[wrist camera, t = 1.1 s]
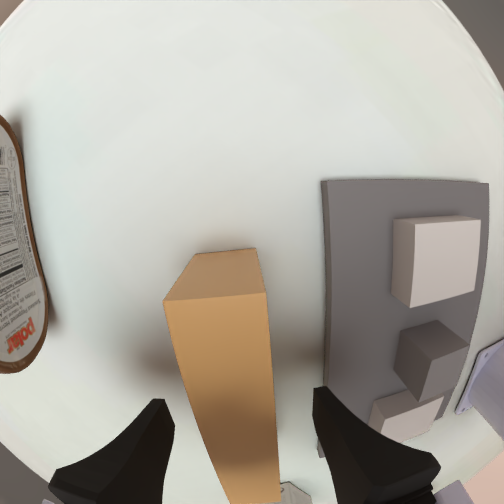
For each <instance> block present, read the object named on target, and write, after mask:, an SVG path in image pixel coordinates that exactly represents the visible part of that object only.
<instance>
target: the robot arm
mask: <svg viewBox="0 0 504 504" xmlns="http://www.w3.org/2000/svg"><path fill="white" fill-rule="evenodd" d="M473 406H474V407H475V408H476V410H477V411H478V412H479V413H480V414H481V415H482V416H483V417H484V418H485V420H486V421H487V422H488V423H489V424H490V425H491V426H492V428H493V429H494V430H495V431H496V432H497V433H498V435H499V436H500V437H501V438H502V439H503V441H504V339H503V340H501V341H499V342H498V343H496V344H494V345H492V346H490V347H489V348H487V349H485V350H483V351H481V352H480V353H479V355H478V357H477V360H476V363H475V366H474V368H473V371H472V374H471V376H470V379H469V381H468V384H467V386H466V389H465V391H464V393H463V396H462V398H461V400H460V402H459V405H458V407H457V409H456V411H455V414H456V415H459V414H461V413H462V412H464V411H466V410H468V409H469V408H471V407H473ZM312 416H313V421H314V425H315V430H316V433H317V436H318V439H319V441H320V444H321V447H322V449H323V452H324V455H325V457H326V460H327V463H328V465H329V468H330V471H331V475H332V480H333V484H334V488H335V493H336V498H337V502H338V504H474V503H473V502H472V500H471V498H470V497H469V495H468V493H467V492H466V490H465V489H464V487H463V485H462V484H461V482H460V480H457V481H455V482H453V483H452V484H450V485H448V486H446V487H445V488H443V489H441V490H440V491H438V492H437V493H435V494H434V495H433V493H432V492H431V491H432V490H433V487H432V485H431V482H432V481H433V480H434V478H435V477H436V476H437V475H438V473H439V471H440V469H441V466H440V464H439V463H438V461H437V460H436V458H435V457H434V456H433V455H432V454H431V453H429V452H425V451H421V450H418V449H414V448H411V447H408V446H406V445H403V444H401V443H398V442H396V441H394V440H392V439H390V438H388V437H386V436H384V435H382V434H381V433H379V432H377V431H376V430H374V429H373V428H371V427H370V426H368V425H367V424H366V423H364V422H363V421H362V420H361V419H359V418H358V417H357V416H356V415H355V414H353V413H352V412H351V411H350V410H349V409H348V408H347V407H346V406H345V405H344V404H343V403H342V402H341V401H340V400H339V399H338V398H337V397H336V396H335V395H334V394H333V392H332V391H331V390H330V389H329V388H328V387H327V386H323V387H318V388H314V392H313V412H312ZM174 431H175V424H174V422H173V419H172V417H171V414H170V412H169V409H168V407H167V404H166V402H165V399H152V400H151V401H150V403H149V404H148V405H147V406H146V407H145V408H144V409H143V411H142V412H141V413H140V414H139V415H138V416H137V417H136V418H135V419H134V420H133V422H132V423H131V424H130V425H129V426H128V427H127V428H126V429H125V430H124V431H123V432H122V433H121V434H119V435H118V436H117V437H116V438H115V439H114V440H113V441H111V442H110V443H109V444H107V445H106V446H105V447H103V448H102V449H100V450H99V451H97V452H95V453H94V454H92V455H90V456H89V457H87V458H85V459H83V460H81V461H78V462H76V463H74V464H71V465H68V466H65V467H62V468H59V469H56V471H55V473H54V475H53V477H52V479H51V481H50V483H49V485H48V488H49V490H50V491H51V492H52V493H53V494H54V495H55V496H56V497H57V498H59V499H60V500H61V501H62V502H63V503H64V504H162V495H163V485H164V478H165V473H166V469H167V465H168V461H169V457H170V453H171V449H172V445H173V440H174ZM42 504H54V503H52V502H50V501H48V500H46V499H44V500H43V502H42Z"/></svg>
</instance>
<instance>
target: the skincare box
mask: <svg viewBox="0 0 504 504" xmlns="http://www.w3.org/2000/svg"><path fill="white" fill-rule="evenodd" d="M280 489H281V501H280V502H271V503H259V504H312V500H311V496H309V495H307V494H306V493H304V492H303V491H301V490H299V489H298V488H296V487H295V486H293V485H292V484H291V483H289V482H288V483H284V484H280Z"/></svg>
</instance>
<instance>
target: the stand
mask: <svg viewBox="0 0 504 504" xmlns="http://www.w3.org/2000/svg"><path fill="white" fill-rule="evenodd" d="M321 188H322V201H323V217H324V236H325V264H326V335H325V362H324V381H323V386H327V387H328V388H329V389H330V390H331V391H332V392H333V394H334V395H335V396H336V397H337V398H338V399H339V400H340V401H341V402H342V403H343V404H344V405H345V406H346V407H347V408H348V409H349V410H350V411H351V412H352V413H353V414H355V415H356V416H357V417H358V418H359V419H361V420H362V421H363V422H364V423H366V424H367V425H368V426H370V427H371V428H373V429H374V430H376V431H377V432H379V433H381V434H382V435H384V436H386V437H388V438H390V439H392V440H394V441H396V442H398V443H401V442H404V441H406V440H409V439H411V438H414V437H416V436H418V435H421V434H423V433H425V432H427V431H429V429H430V427H431V425H432V423H433V421H435V420H437V419H439V418H441V417H442V416H443V414H444V412H445V409H446V407H447V405H448V403H449V400H450V398H451V396H452V393H453V391H454V388H455V386H456V385H457V382H458V380H459V377H460V374H461V372H462V369H463V366H464V363H465V360H466V357H467V354H468V350H469V347H470V341H471V338H472V334H473V330H474V326H475V322H476V318H477V314H478V309H479V304H480V299H481V294H482V288H483V282H484V275H485V268H486V259H487V249H488V235H489V183H477V182H462V181H442V180H404V179H375V180H335V181H321ZM317 450H318V454H319V458H323V457H325V455H324V452H323V449H322V447H321V444H320V441H319V439H318V447H317Z"/></svg>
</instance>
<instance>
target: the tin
mask: <svg viewBox="0 0 504 504" xmlns="http://www.w3.org/2000/svg"><path fill="white" fill-rule="evenodd" d="M47 326H48V298H47V290H46V286H45V281H44V277H43V274H42V270H41V266H40V263H39V259H38V255H37V251H36V246H35V241H34V237H33V232H32V226H31V221H30V215H29V209H28V202H27V194H26V185H25V174H24V165H23V159H22V154H21V151H20V147H19V144H18V141H17V138H16V136H15V134H14V132H13V130H12V129H11V127H10V125H9V124H8V123H7V121H6V120H5V119H4V118H3V117H2V116H1V115H0V373H2V374H10V373H17V372H20V371H22V370H23V369H25V368H26V367H28V366H29V365H30V364H31V363H32V362H33V361H34V359H35V358H36V356H37V355H38V353H39V351H40V350H41V348H42V346H43V343H44V341H45V337H46V333H47Z"/></svg>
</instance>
